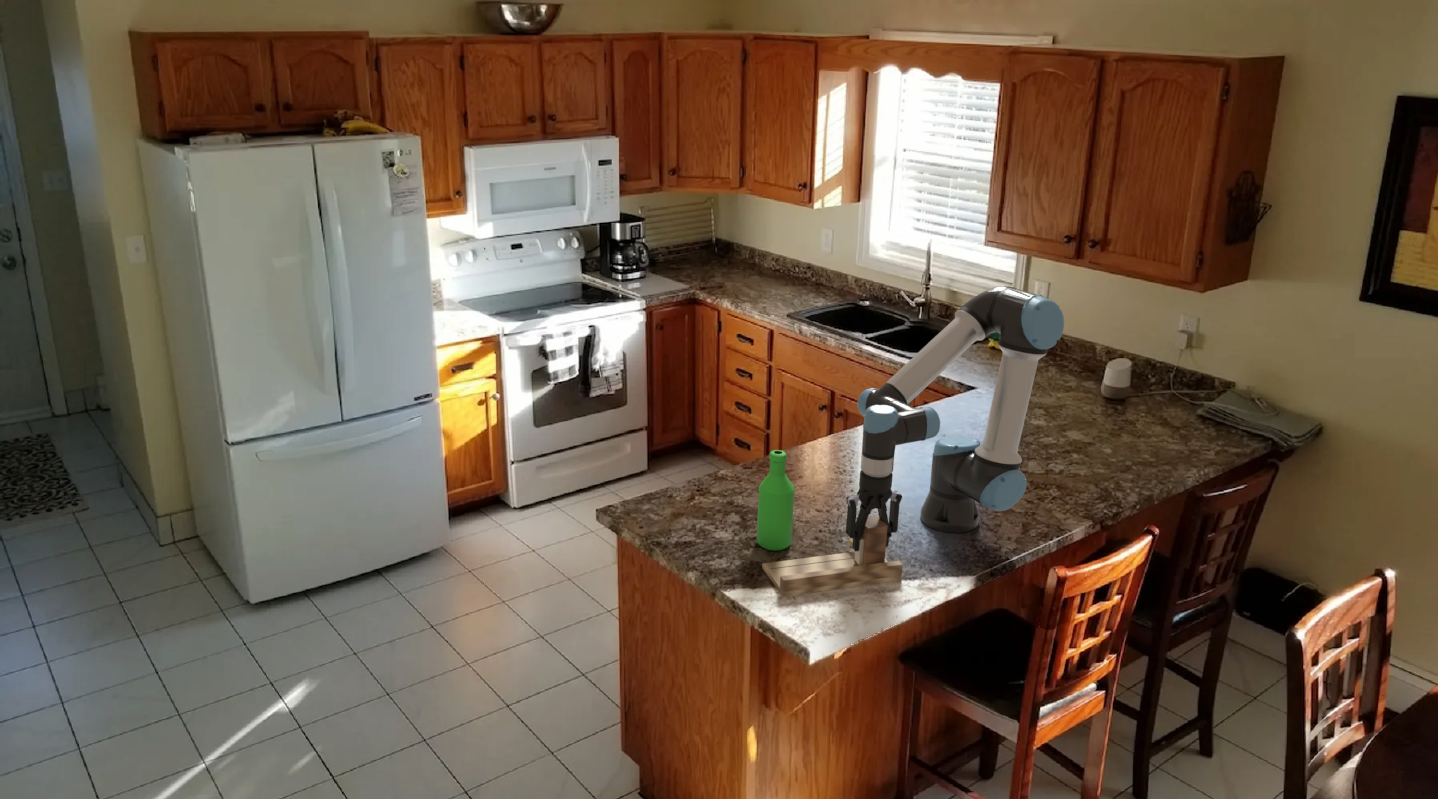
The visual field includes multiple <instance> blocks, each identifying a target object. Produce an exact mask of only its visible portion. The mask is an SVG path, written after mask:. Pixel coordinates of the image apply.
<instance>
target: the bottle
mask: <svg viewBox="0 0 1438 799" xmlns="http://www.w3.org/2000/svg"><path fill="white" fill-rule="evenodd" d="M787 457H788V456H787V452H785V451H784V450H781V449H780V450H779V449H774V450H771V451H770V453H769V456H768V459H769V473H768V474H767V475H766V476H765V478H764V479H763V480H762V481H761V483H759V485H758V499H757V500H758V501H757V503H758V504H757V521H756V522H757V524H756V525H757V526H756V543H757V544H758V545H759V546H760V547H762V548H763V549H764V550H765V549H766V550H768V551H773V552H777V551H782V550H785V549H787V548H789V546H790V545H792V540H793V539H792V538H793V537H792V536H793V524H794V523H793V521H794V520H793V518H794V507H795V506H794V505H795V503H794V502H795V500H794V499H795V486H794V485H793V483H792V482H791V480H790V479H789V477H788V476H787V474H786V462H787V460H788V458H787Z"/></svg>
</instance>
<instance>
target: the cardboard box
mask: <svg viewBox="0 0 1438 799" xmlns="http://www.w3.org/2000/svg"><path fill="white" fill-rule="evenodd" d="M857 518H858V516H856V519H857ZM887 527H888V526H887V525H886V524H885V523H883V522H882V521H881V520H880V519H879V515H878V514H876V515H875V514H874V515H873V514H872V515H869V516H868V519H867V522H866V525H865V528H864V531H863V534H862V538H863V539H864V546H863V558H862V564H861V565H869V564H876V563H884V562H885V559H886V550H887V547H886V539H887ZM847 544H848V545H849V549H853V548H852V544H853V538H848V541H847ZM854 559H855V556H854ZM854 563H855V564H856V565H857V566H861V565H859V564H858V563H857V562H856V561H855V560H854Z"/></svg>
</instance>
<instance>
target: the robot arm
mask: <svg viewBox="0 0 1438 799" xmlns="http://www.w3.org/2000/svg"><path fill="white" fill-rule="evenodd" d="M1064 328H1065V318H1064V314H1063V311H1062V309H1061V308H1060V306H1059V305H1058V304H1057V303H1056V302H1055V301H1053V299H1052V300H1051V299H1050V298H1047V297H1045V296H1044V295H1039V294H1036V293H1032V292H1029V291H1025V290H1022V289H1018V288H1016V287H1014V286H1010V285H1008V286H1007V285H1000V286H995V287H991V288H989V289H987V290H984V291H983V292H980V293H978V294H977V295H975V296H973V297H972V298H971V299H970V300H968V301H966V302H965V303H964V304H963V305H962V306H961V307H959V308H958V309H957V310H956V311H955V313H954V318H953V320H952V321H951V322H949V323H948V325H946V326H945V327H944V328H943V329H942V330H941V331H940V332H938V334H936V335H935V336H934V337H933V338H932V339H931V340H930V341H928V343H927V344H926V345H925V346H923V347H922V348H921V349H920V350H919V351H918V352H917V353H916V354H915V355H914V356H913V357H912V358H910V360H909V361H908V362H906V363H905V364H904V365H903V366H902V367H901V368H900V369H899V370H898V371H897V372H896V373H895V374H893V375H892V376H891V378H889V379H888V380H887V381H886V382H885V383H884V384H882V386H880V388H874V387H869V388H867V389H864V390H863V391H862V392H861V393H860V395H859V397H858V400H857V405H856V406H857V409H858V410H857V411H858V412H859V413H860V415H862V416H863V418H864V419H863V423H862V442H861V443H862V444H861V456H860V469H861V470H860V471H859V482H858V484H859V486H858V487H859V488H858V491H857V493H856V494H855V495H853V496H850V495H849V496H846V497H845V501H846V503H847V512H846V513H847V514H846V522H845V523H846V524H845V534H846V535H847V536H848V537H849V539H851V538H853V544H852V548H851V549H853V551H854V552H855V559H854V560H855V561H856V562H857V563H858V564H859V565H861V564H862V558H863V546H864V539H863V538H862V534H863V531H864V528H865V525H866V522H867V519H868V516H870V514H871V513H872V510H876V509H877V512H878V514H877V515H878V517H879V519H880V520H881V521H882V522H883V523H885V524H886V525H887V526H888V527H887V539H886V548H888V547H889V542H890V538H891V537H892V536H893V534H895V533H897V532H898V528H899V527H898V526H899V515H900V514H899V513H900V504H901V501H902V499H903V495H902V494H901V493H899V491H898V490H894V491H893V490H892V486H893V485H892V484H893V476H894V475H893V472H894V462H895V452H896V446H899V445H903V444H910V443H914V442H915V443H917V442H920V441H922V442H923V441H927V440H928V439H931V438H934V437H936V436H937V435H938V434H939V432H940V429H941V428H940V427H941V419H940V415H939V414H938V412H937V411H936V409H934V408H933V407H930V406H920V407H917V408H916V407H914V406H912V405H910V403H911V402H912V401H913V400H914V399H915V398H917V397H918V396H919V394H921V392H923V391H924V390H925V389H926V388H927V387H928V386H929V385H930V384H931V383H932V382H934V380H935V379H937V378H938V377H939V376H940V375H941V374H942V373H943V372H944V371H945V370H946V369H947V368H948V367H950V366H951V365H952V363H954V362H955V361H956V360H957V359H958V358H960V356H961V355H962V354H963V353H965V352H966V350H968V349H969V347H971V346H972V345H973V344H974V343H975V342H976V341H983V340H985V338H987V337H988V336H989V335H990V334H991V335H992V334H994V333H997V334H999V338H998V342H997V345H998V347H999V349H1000V350H1001V351H1002V354H1001V355H1002V356H1001V359H1000V362H999V363H1000V365H999V369H998V373H997V377H996V382H995V387H994V391H993V395H992V398H991V403H990V404H991V405H990V408H989V412H988V418H987V422H986V426H985V431H984V435H983V440H982V444H981V442H980V441H979V440H978V439H976V438H973V437H970V436H963V435H961V436H960V435H958V436H956V435H955V436H954V435H953V436H945V437H942V438H939V439H938V440H937V441H935V444H934V448H933V453H932V459H931V472H930V482H929V484H930V485H929V491H928V494H927V496H926V498H925V499H924V500H925V501H924V503H923V505H922V506H921V509H920V517H919V518H920V520H921V522H922V523H923V524H924V525H926V526H927V527H929V528H930V529H933V530H937V531H940V532H945V533H951V534H953V533H954V534H956V533H957V534H958V533H959V534H960V533H962V534H963V533H966V532H970V531H973V530H976V529H977V527H978V526H979V519H980V516H979V510H978V506H977V503H979V504H980V505H981V506H982V507H984V508H988V509H990V510H992V511H994V512H1004V511H1008V510H1009V509H1012V508H1013V507H1014V506H1015V504H1017V503H1019V501H1020V500H1021V499H1022V497H1023V496H1024V494H1025V492H1026V490H1027V484H1028V482H1027V480H1028V479H1027V478H1026V476H1025V474H1024V473H1023V472H1022V470H1020V468H1021V465H1022V457H1021V455H1020V454H1019V453H1018V449H1019V446H1020V442H1021V437H1022V434H1023V429H1024V425H1025V420H1026V415H1027V410H1028V408H1029V403H1030V398H1031V393H1032V389H1033V385H1034V381H1035V376H1036V372H1037V369H1038V365H1039V364H1038V363H1039V360H1040V359H1041V358H1043V357H1045V356H1046V355H1047V353H1048V350H1049V349H1051V348H1053V347H1054V346H1056V345H1057V341H1060V339H1061V337H1062V336H1063V332H1064ZM889 500H890V501H889ZM888 501H889V513H888V508H887V502H888ZM859 502H860V506H859ZM858 506H859V512H858V514H857V510H858V509H857V507H858ZM888 514H889V515H888ZM857 515H858V516H857ZM857 517H858V518H857Z"/></svg>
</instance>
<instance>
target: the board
mask: <svg viewBox="0 0 1438 799" xmlns="http://www.w3.org/2000/svg"><path fill="white" fill-rule="evenodd" d="M854 556H855V551H848V552H841V553H835V554H834V553H833V554H826V555H819V556H818V555H817V556H810V557H803V558H797V559H796V558H795V559H787V560H780V561H779V560H777V561H772V562H765V563H762V566H761V567H762V569H763V571H764V572H765V574H766V576H768V578H769V580H770V581H771V583H772V584H773V585H774V587H775V588H776V589H777V591H778V592H779V594H780V595H781V596H782V597H791V596H796V595H804V594H811V593H819V592H827V591H833V590H841V589H847V588H855V587H861V586H868V585H877V584H883V583H888V582H889V583H891V582H898V581H902V574H903V573H902V572H903V563H902V562H901V561H900V560H892V561H888V559H886V558H885V562H884V563H876V564H869V565H861V566H857V565H856V564H855V563H854Z"/></svg>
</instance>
